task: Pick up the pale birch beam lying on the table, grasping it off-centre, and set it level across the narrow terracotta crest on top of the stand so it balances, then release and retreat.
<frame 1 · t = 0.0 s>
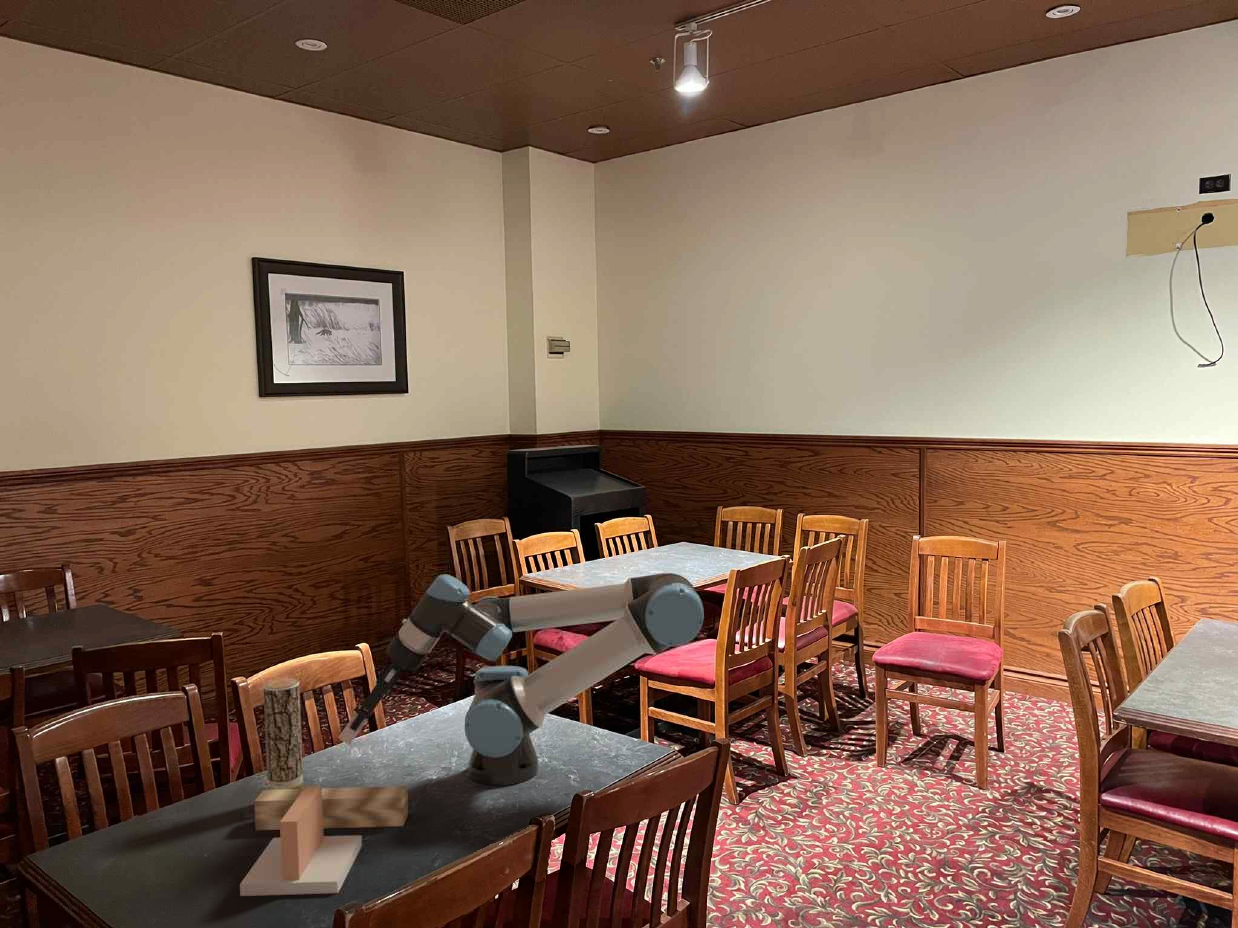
hand: (353, 728, 184), 15 cm above the table, tool tilted 35°, fingers open, 13 cm apart
birch beam: (333, 823, 177), on the table
balance stand: (304, 869, 159), on the table
bark-covered stump: (286, 803, 185), on the table
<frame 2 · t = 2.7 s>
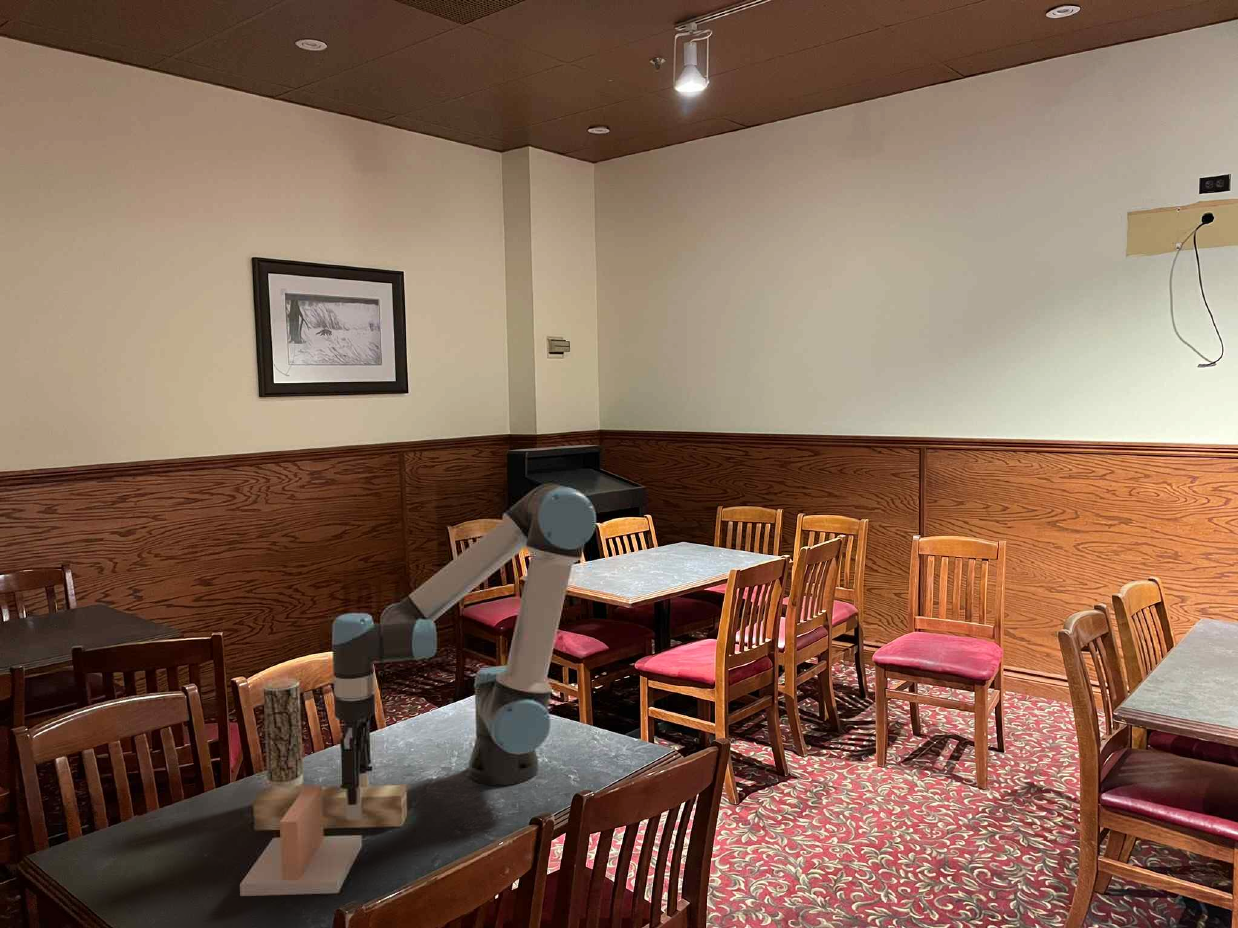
hand: (358, 811, 177), 2 cm above the table, tool pointing down, fingers closed on birch beam, 5 cm apart
birch beam: (332, 822, 177), on the table, touching gripper
everything else where it was.
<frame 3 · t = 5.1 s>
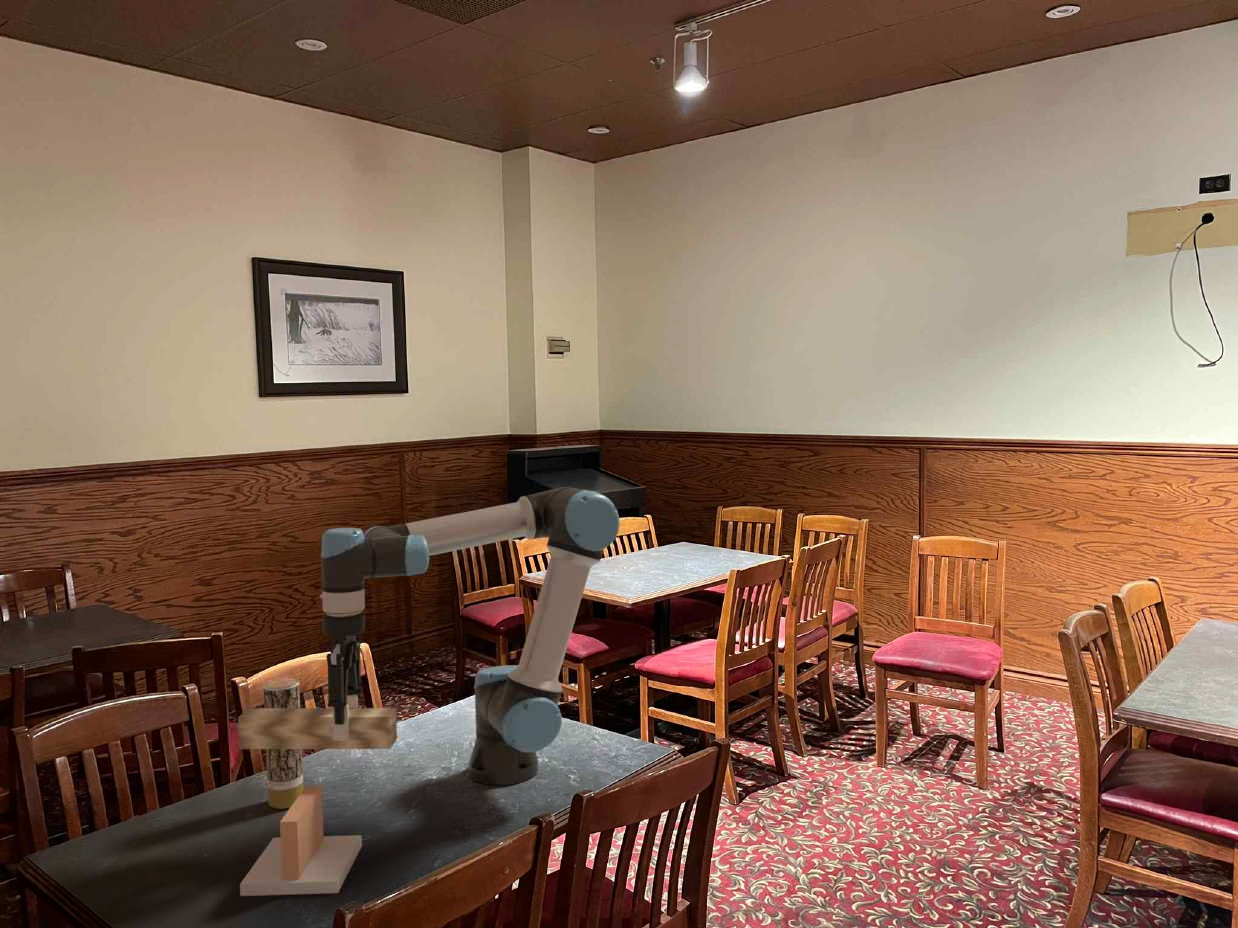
hand: (346, 733, 170), 19 cm above the table, tool pointing down, fingers closed on birch beam, 5 cm apart
birch beam: (319, 743, 171), point 17 cm above the table, touching gripper
everything else where it was.
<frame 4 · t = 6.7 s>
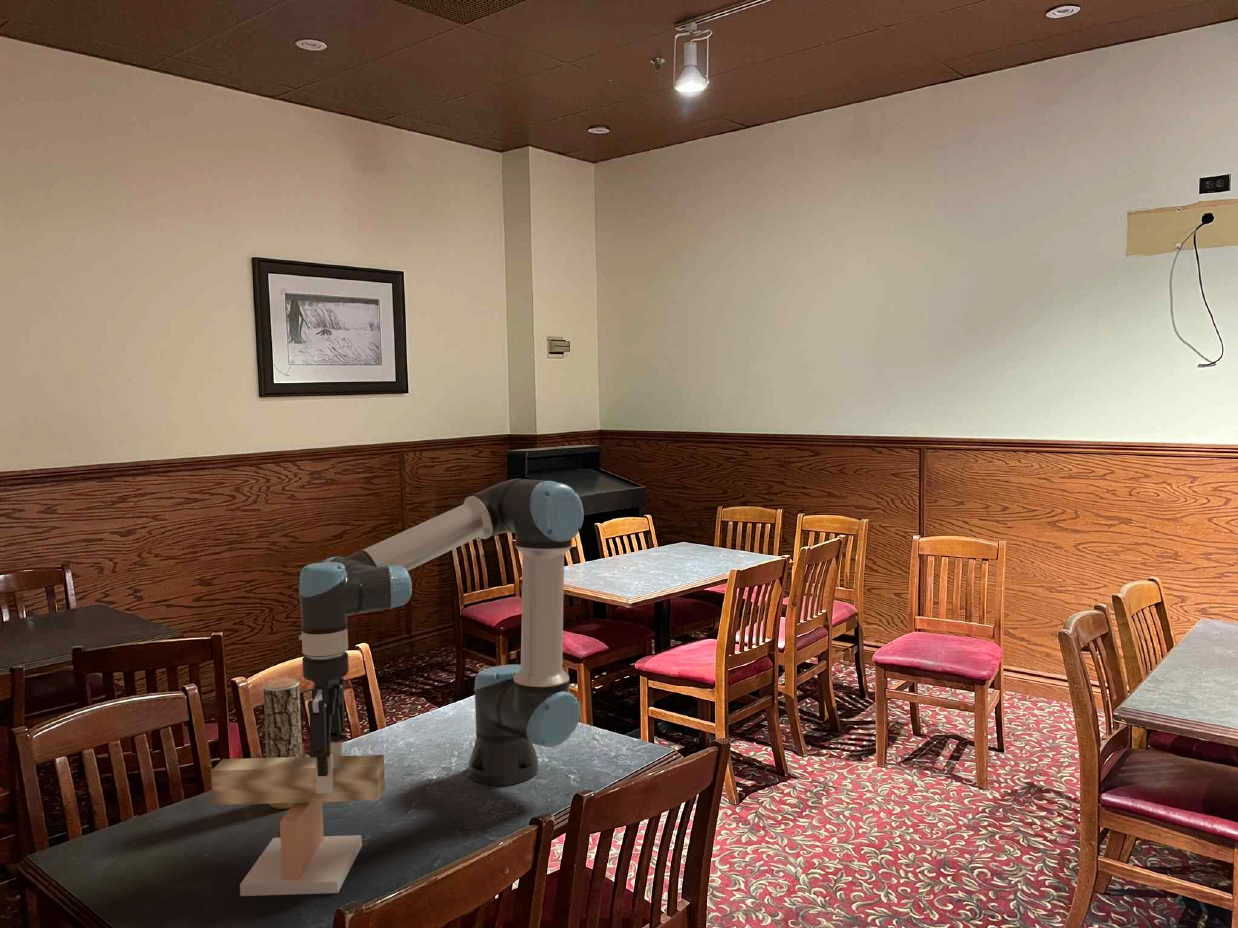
hand: (329, 784, 158), 15 cm above the table, tool pointing down, fingers closed on birch beam, 5 cm apart
birch beam: (300, 796, 158), point 13 cm above the table, touching gripper
everything else where it was.
when the fingers open (15 cm above the table, at t = 7.8 s): birch beam stays where it is, resting on balance stand.
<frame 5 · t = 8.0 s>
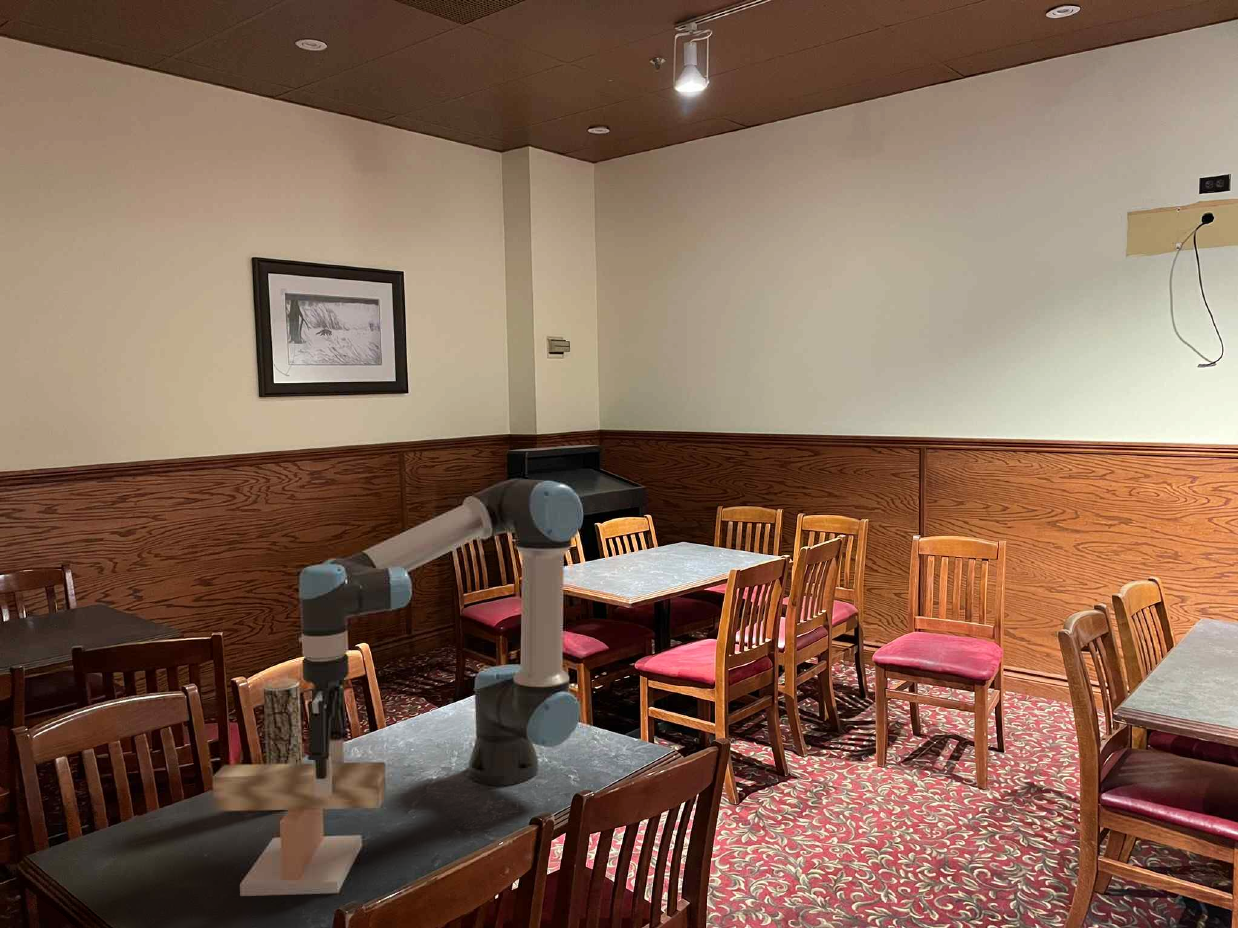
hand: (330, 784, 158), 15 cm above the table, tool pointing down, fingers open, 7 cm apart
birch beam: (301, 802, 158), point 12 cm above the table, touching balance stand
everything else where it was.
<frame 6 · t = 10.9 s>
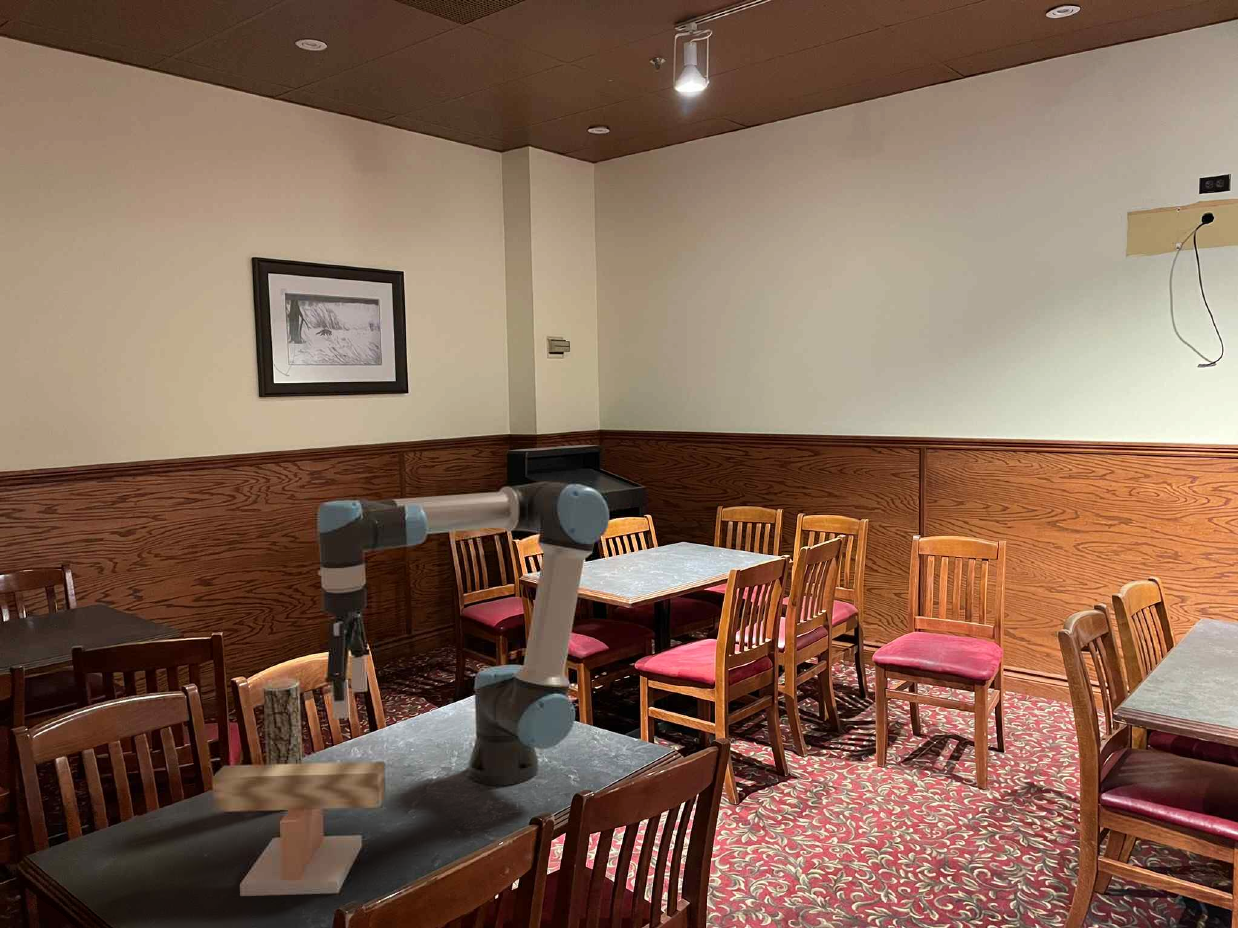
hand: (351, 703, 164), 27 cm above the table, tool pointing down, fingers open, 13 cm apart
nothing on the table moved.
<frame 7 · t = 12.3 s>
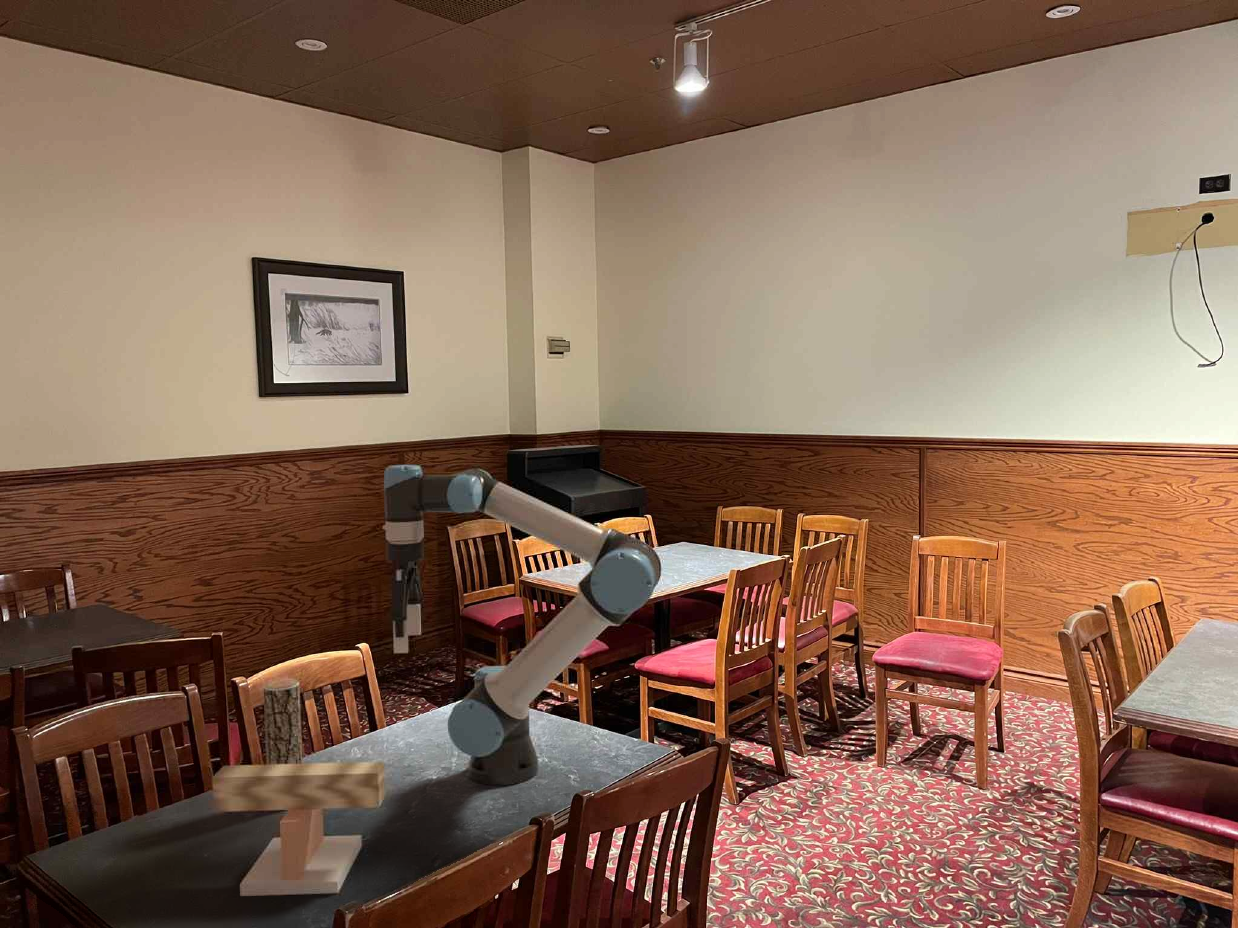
hand: (407, 643, 187), 32 cm above the table, tool pointing down, fingers open, 13 cm apart
nothing on the table moved.
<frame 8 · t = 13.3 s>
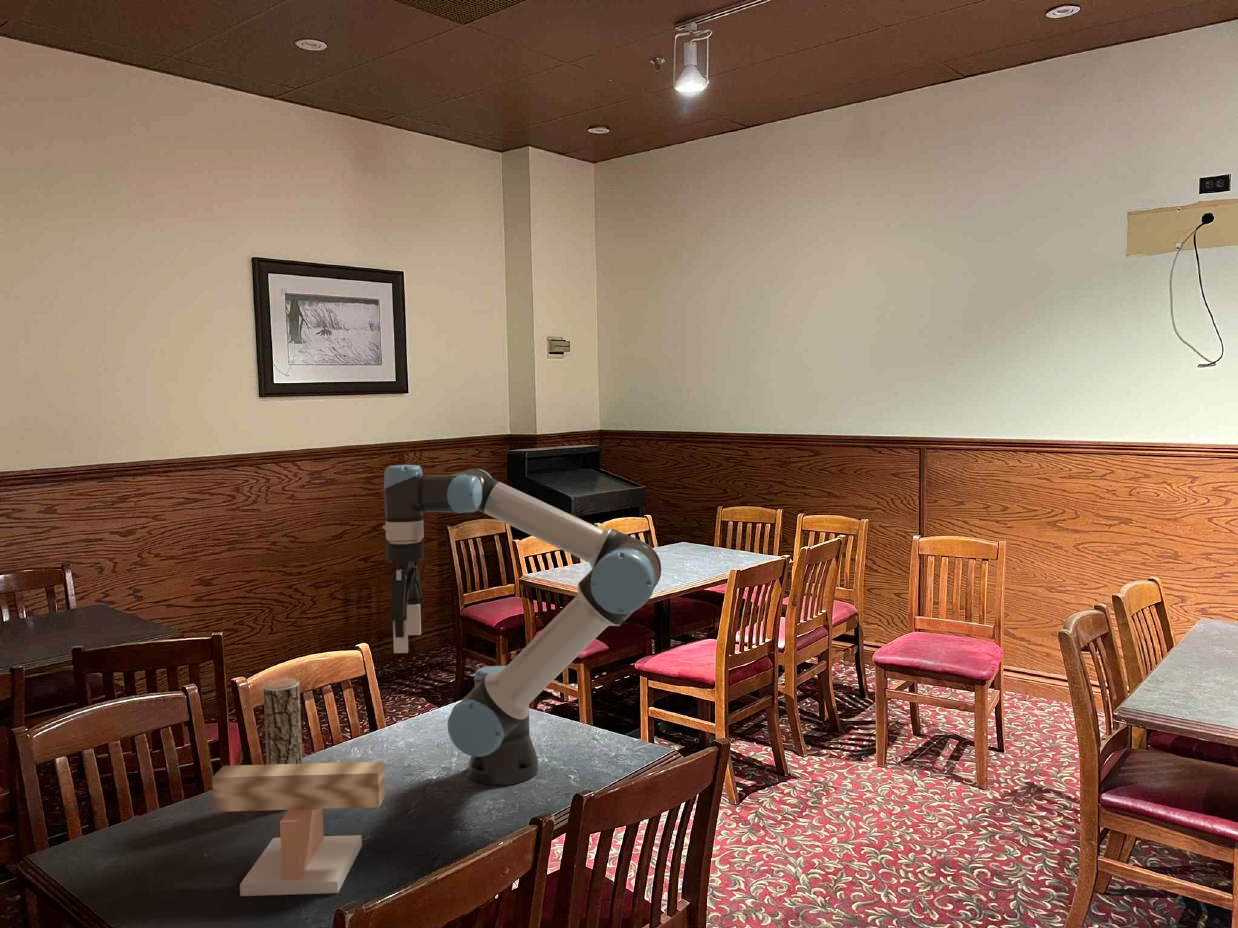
hand: (407, 643, 187), 32 cm above the table, tool pointing down, fingers open, 13 cm apart
nothing on the table moved.
at the end: birch beam 0.1 cm off-centre on the balance stand, point 12.0 cm above the balance stand's base; birch beam tilted 0°; the gripper is holding nothing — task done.
